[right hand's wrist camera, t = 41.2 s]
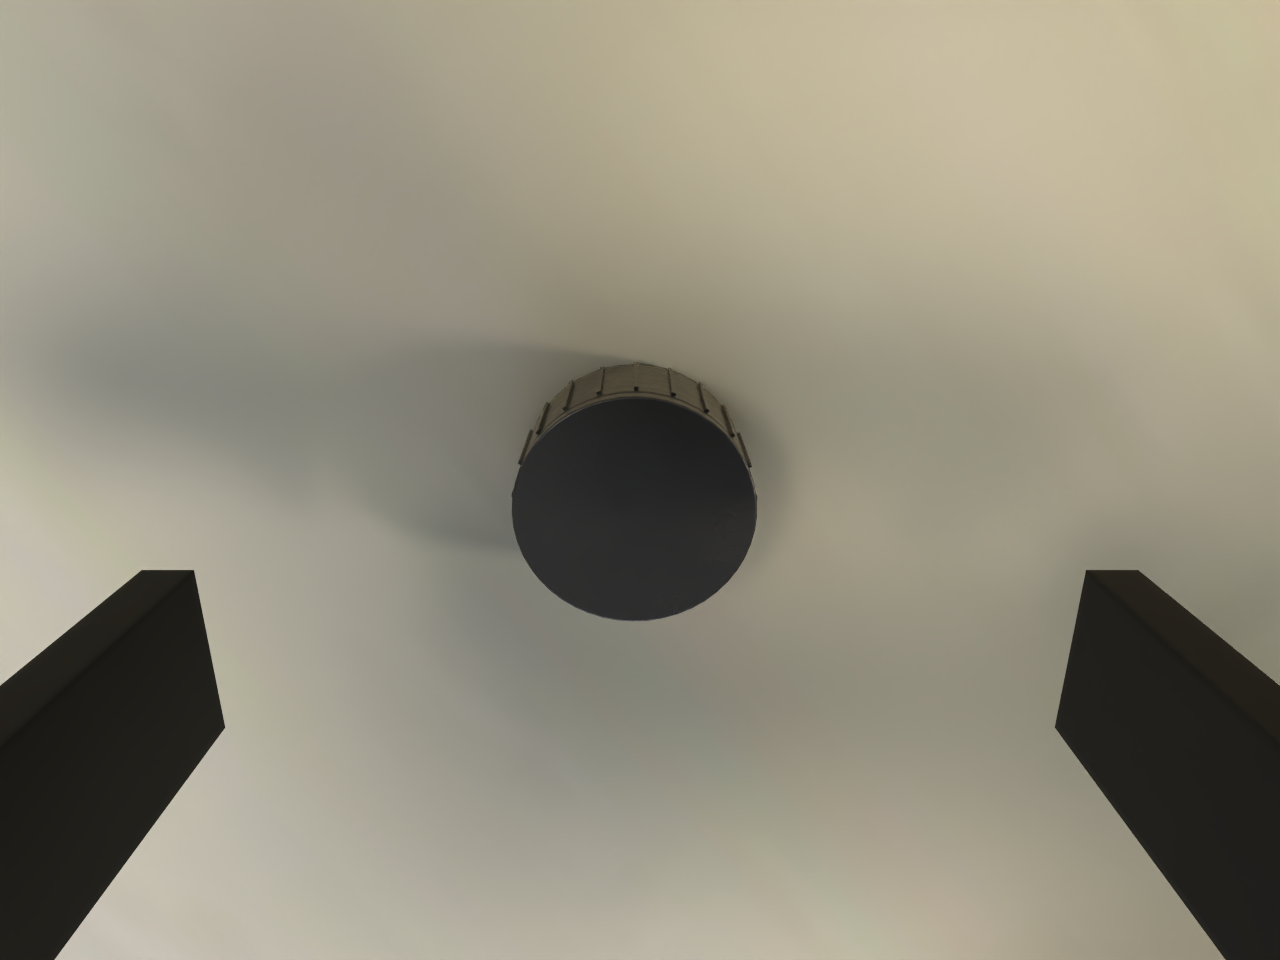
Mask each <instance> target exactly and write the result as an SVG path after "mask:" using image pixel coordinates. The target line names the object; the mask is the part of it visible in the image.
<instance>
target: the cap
mask: <svg viewBox="0 0 1280 960" xmlns="http://www.w3.org/2000/svg"><path fill="white" fill-rule="evenodd" d="M518 464H520V465H521V467H520V469H519V472H518V476H517V479H516V482H515V486H514V489H513V492H512V518H513V527H514V531H515V535H516V539H517V542H518V545H519V547H520V550H521V552H522V554H523V556H524V558H525V560H526V561H527V563H528V565H529V567H530V568H531V569H532V571H533V572H534V573H535V575H536V576H537V577H538V579H539V580H540V581H541V582H542V583H543V584H544V585H545V586H546V587H547V588H548V589H549V590H550V591H552V592H553V593H554V594H556V595H557V596H558V597H559V598H561V599H562V600H564V601H566V602H567V603H569V604H571V605H572V606H574V607H576V608H578V609H581V610H583V611H585V612H587V613H590V614H593V615H597V616H600V617H603V618H609V619H614V620H622V621H648V620H654V619H661V618H665V617H669V616H672V615H676V614H679V613H681V612H684V611H686V610H689V609H691V608H693V607H695V606H696V605H698V604H700V603H702V602H704V601H705V600H707V599H708V598H709V597H711V596H712V595H713V594H715V593H716V592H717V591H718V590H719V589H720V588H722V587H723V586H724V585H725V584H726V583H727V582H728V581H729V579H730V578H731V577H732V576H733V575H734V573H735V572H736V571H737V569H738V568H739V566H740V565H741V563H742V561H743V560H744V558H745V556H746V554H747V552H748V549H749V547H750V545H751V542H752V538H753V535H754V531H755V525H756V518H757V495H756V492H755V486H754V483H753V479H752V476H751V472H750V469H749V468H750V467H752V465H751V463H750V460H749V457H748V454H747V451H746V449H745V446H744V443H743V440H742V437H741V435H740V433H737V432H736V430H735V428H734V425H733V423H732V421H731V419H730V418H729V415H728V412H727V409H726V407H725V405H723V406H721V405H720V403H719V402H718V401H717V400H716V399H715V398H714V397H713V396H712V395H711V394H710V393H709V392H708V391H707V390H706V389H704V388H703V384H702V383H700V382H699V383H698V384H697V383H696V382H694V381H693V380H691V379H689V378H687V377H685V376H683V375H681V374H679V373H676V372H673V370H672V368H668V369H664V368H660V367H655V366H649V365H638V363H634V365H620V366H614V367H609V368H605V369H604V367H600V370H599V371H595V372H592V373H590V374H588V375H586V376H584V377H582V378H580V379H578V380H576V381H575V382H573V380H572V381H570V382H569V385H568V386H567V387H566V388H565V389H564V390H563V391H561V392H560V393H559V394H558V395H557V396H556V397H555V398H554V399H553V400H552V401H551V402H550V403H548V402H547V403H546V404H545V406H544V409H543V412H542V414H541V416H540V417H539V419H538V421H537V424H536V426H535V428H534V430H533V431H532V430H530V432H529V435H528V437H527V440H526V443H525V446H524V448H523V451H522V454H521V457H520V459H519V462H518Z"/></svg>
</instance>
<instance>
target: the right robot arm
mask: <svg viewBox="0 0 1280 960" xmlns="http://www.w3.org/2000/svg"><path fill="white" fill-rule="evenodd" d="M224 728H225V725H224V720H223V714H222V709H221V704H220V699H219V694H218V689H217V684H216V679H215V674H214V669H213V664H212V659H211V654H210V649H209V644H208V639H207V634H206V629H205V624H204V619H203V614H202V609H201V604H200V599H199V593H198V588H197V583H196V578H195V573H194V570H141V571H140V572H139V573H138V574H137V575H135V576H134V577H133V578H132V579H130V580H129V581H128V582H127V583H126V584H124V585H123V586H122V587H121V588H119V589H118V590H117V591H116V592H115V593H113V594H112V595H111V596H110V597H108V598H107V599H106V600H105V601H104V602H102V603H101V604H100V605H99V606H97V607H96V608H95V609H94V610H92V611H91V612H90V613H89V614H88V615H86V616H85V617H84V618H83V619H81V620H80V621H79V622H78V623H77V624H75V625H74V626H73V627H72V628H70V629H69V630H68V631H67V632H66V633H64V634H63V635H62V636H61V637H59V638H58V639H57V640H56V641H55V642H53V643H52V644H51V645H50V646H48V647H47V648H46V649H45V650H44V651H42V652H41V653H40V654H39V655H37V656H36V657H35V658H34V659H32V660H31V661H30V662H29V663H28V664H26V665H25V666H24V667H23V668H21V669H20V670H19V671H18V672H17V673H15V674H14V675H13V676H12V677H10V678H9V679H8V680H7V681H6V682H4V683H3V684H2V685H1V686H0V960H54V959H55V958H56V957H57V955H58V954H59V953H60V951H61V950H62V949H63V947H64V946H65V944H66V943H67V942H68V940H69V939H70V938H71V936H72V935H73V934H74V932H75V931H76V930H77V928H78V927H79V925H80V924H81V923H82V921H83V920H84V919H85V917H86V916H87V915H88V913H89V912H90V910H91V909H92V908H93V906H94V905H95V904H96V902H97V901H98V900H99V898H100V897H101V896H102V894H103V893H104V891H105V890H106V889H107V887H108V886H109V885H110V883H111V882H112V881H113V879H114V878H115V877H116V875H117V874H118V872H119V871H120V870H121V868H122V867H123V866H124V864H125V863H126V862H127V860H128V859H129V857H130V856H131V855H132V853H133V852H134V851H135V849H136V848H137V847H138V845H139V844H140V843H141V841H142V840H143V838H144V837H145V836H146V834H147V833H148V832H149V830H150V829H151V828H152V826H153V825H154V823H155V822H156V821H157V819H158V818H159V817H160V815H161V814H162V813H163V811H164V810H165V809H166V807H167V806H168V804H169V803H170V802H171V800H172V799H173V798H174V796H175V795H176V794H177V792H178V791H179V789H180V788H181V787H182V785H183V784H184V783H185V781H186V780H187V779H188V777H189V776H190V775H191V773H192V772H193V770H194V769H195V768H196V766H197V765H198V764H199V762H200V761H201V760H202V758H203V757H204V755H205V754H206V753H207V751H208V750H209V749H210V747H211V746H212V745H213V743H214V742H215V741H216V739H217V738H218V736H219V735H220V734H221V732H222V731H223V730H224ZM1055 728H1056V730H1057V731H1058V732H1059V734H1060V735H1061V736H1062V738H1063V739H1064V741H1065V742H1066V743H1067V745H1068V746H1069V747H1070V749H1071V750H1072V751H1073V753H1074V754H1075V755H1076V757H1077V758H1078V760H1079V761H1080V762H1081V764H1082V765H1083V766H1084V768H1085V769H1086V770H1087V772H1088V773H1089V775H1090V776H1091V777H1092V779H1093V780H1094V781H1095V783H1096V784H1097V785H1098V787H1099V788H1100V789H1101V791H1102V792H1103V794H1104V795H1105V796H1106V798H1107V799H1108V800H1109V802H1110V803H1111V804H1112V806H1113V807H1114V809H1115V810H1116V811H1117V813H1118V814H1119V815H1120V817H1121V818H1122V819H1123V821H1124V822H1125V823H1126V825H1127V826H1128V828H1129V829H1130V830H1131V832H1132V833H1133V834H1134V836H1135V837H1136V838H1137V840H1138V841H1139V843H1140V844H1141V845H1142V847H1143V848H1144V849H1145V851H1146V852H1147V853H1148V855H1149V856H1150V857H1151V859H1152V860H1153V862H1154V863H1155V864H1156V866H1157V867H1158V868H1159V870H1160V871H1161V872H1162V874H1163V875H1164V877H1165V878H1166V879H1167V881H1168V882H1169V883H1170V885H1171V886H1172V887H1173V889H1174V890H1175V891H1176V893H1177V894H1178V896H1179V897H1180V898H1181V900H1182V901H1183V902H1184V904H1185V905H1186V906H1187V908H1188V909H1189V910H1190V912H1191V913H1192V915H1193V916H1194V917H1195V919H1196V920H1197V921H1198V923H1199V924H1200V925H1201V927H1202V928H1203V930H1204V931H1205V932H1206V934H1207V935H1208V936H1209V938H1210V939H1211V940H1212V942H1213V943H1214V944H1215V946H1216V947H1217V949H1218V950H1219V951H1220V953H1221V954H1222V955H1223V957H1224V958H1225V959H1226V960H1280V686H1279V685H1278V684H1277V683H1276V682H1274V681H1273V680H1272V679H1271V678H1270V677H1268V676H1267V675H1266V674H1265V673H1263V672H1262V671H1261V670H1260V669H1259V668H1257V667H1256V666H1255V665H1254V664H1252V663H1251V662H1250V661H1249V660H1248V659H1246V658H1245V657H1244V656H1243V655H1241V654H1240V653H1239V652H1238V651H1236V650H1235V649H1234V648H1233V647H1232V646H1230V645H1229V644H1228V643H1227V642H1225V641H1224V640H1223V639H1222V638H1221V637H1219V636H1218V635H1217V634H1216V633H1214V632H1213V631H1212V630H1211V629H1210V628H1208V627H1207V626H1206V625H1205V624H1203V623H1202V622H1201V621H1200V620H1199V619H1197V618H1196V617H1195V616H1194V615H1192V614H1191V613H1190V612H1189V611H1188V610H1186V609H1185V608H1184V607H1183V606H1181V605H1180V604H1179V603H1178V602H1176V601H1175V600H1174V599H1173V598H1172V597H1170V596H1169V595H1168V594H1167V593H1165V592H1164V591H1163V590H1162V589H1161V588H1159V587H1158V586H1157V585H1156V584H1154V583H1153V582H1152V581H1151V580H1150V579H1148V578H1147V577H1146V576H1145V575H1143V574H1142V573H1141V572H1140V571H1139V570H1086V573H1085V578H1084V583H1083V588H1082V593H1081V599H1080V604H1079V609H1078V614H1077V619H1076V624H1075V629H1074V634H1073V639H1072V644H1071V649H1070V654H1069V659H1068V664H1067V669H1066V674H1065V679H1064V684H1063V689H1062V694H1061V699H1060V704H1059V709H1058V714H1057V720H1056V725H1055Z"/></svg>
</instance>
